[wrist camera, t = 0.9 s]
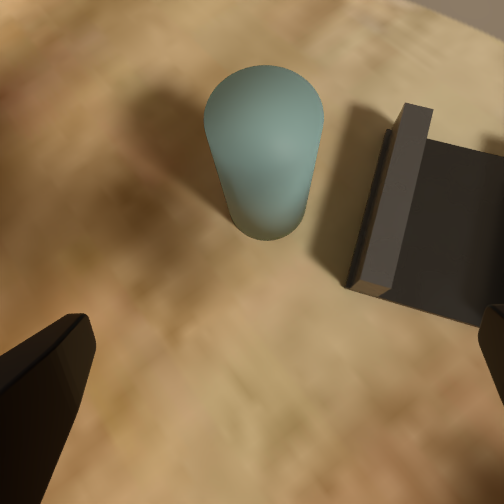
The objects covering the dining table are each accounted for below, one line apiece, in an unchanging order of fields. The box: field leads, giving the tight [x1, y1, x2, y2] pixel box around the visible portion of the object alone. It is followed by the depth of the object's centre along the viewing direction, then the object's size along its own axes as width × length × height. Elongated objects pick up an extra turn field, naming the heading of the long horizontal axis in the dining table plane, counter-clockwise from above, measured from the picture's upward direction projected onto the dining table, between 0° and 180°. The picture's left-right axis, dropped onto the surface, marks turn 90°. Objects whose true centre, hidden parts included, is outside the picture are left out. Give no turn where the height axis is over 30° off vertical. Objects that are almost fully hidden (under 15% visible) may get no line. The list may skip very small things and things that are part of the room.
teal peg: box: [204, 65, 324, 241], centre depth 20 cm, size 4×4×9 cm
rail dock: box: [345, 103, 504, 328], centre depth 22 cm, size 10×10×3 cm
